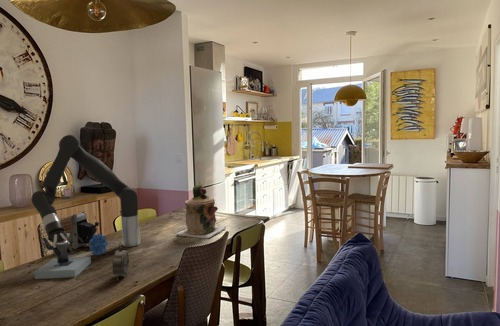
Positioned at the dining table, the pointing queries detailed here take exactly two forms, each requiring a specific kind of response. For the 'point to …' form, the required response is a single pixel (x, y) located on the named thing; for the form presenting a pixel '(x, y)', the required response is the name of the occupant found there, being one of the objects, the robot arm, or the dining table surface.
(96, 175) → the robot arm
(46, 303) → the dining table surface
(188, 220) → the cookie jar
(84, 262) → the holder
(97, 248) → the grapes
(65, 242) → the metal cylinder
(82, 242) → the vintage camera
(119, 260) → the alarm clock
